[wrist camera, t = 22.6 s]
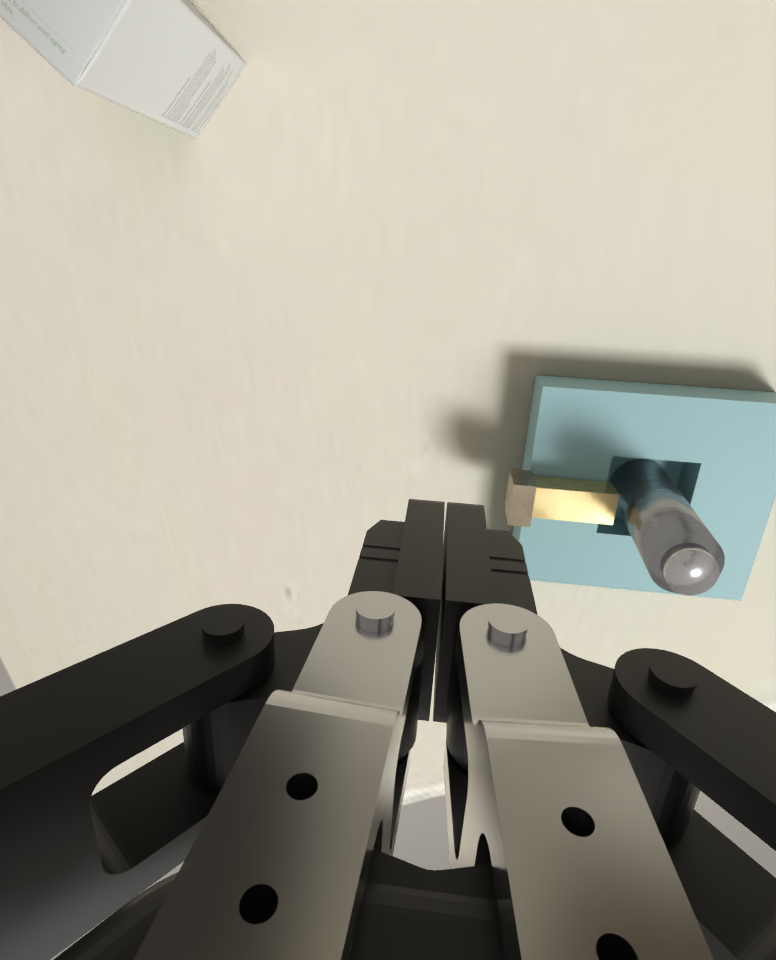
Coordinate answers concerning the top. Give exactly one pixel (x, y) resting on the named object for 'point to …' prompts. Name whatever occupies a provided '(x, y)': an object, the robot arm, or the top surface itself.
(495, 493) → the top surface
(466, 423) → the top surface
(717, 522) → the dock
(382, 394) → the top surface
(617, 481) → the metal capped cylinder
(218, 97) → the skincare box
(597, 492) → the block hammer
